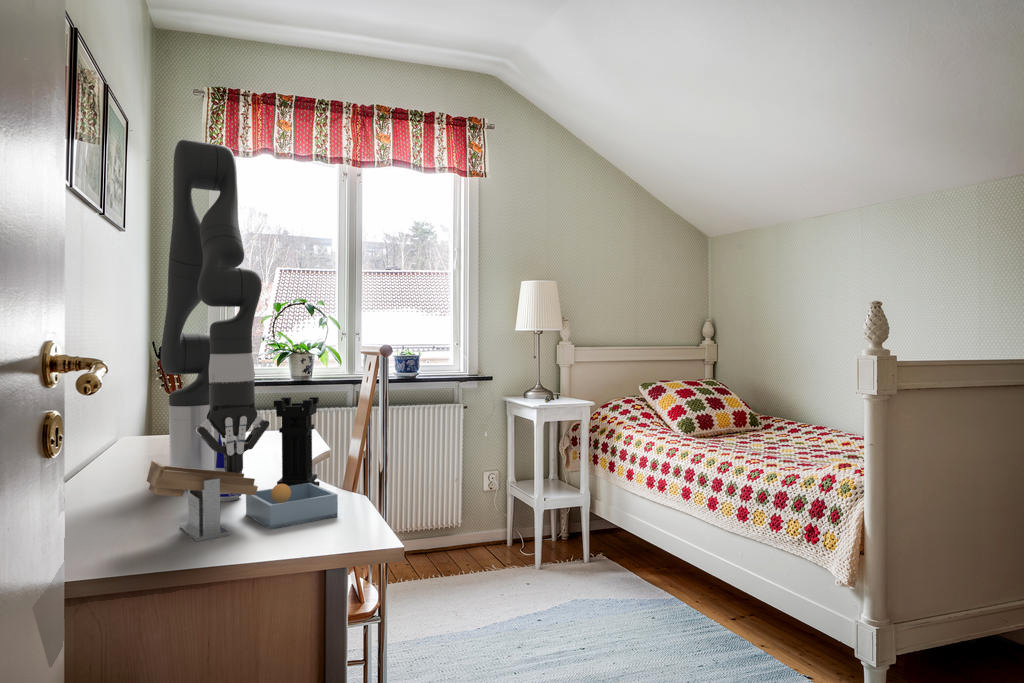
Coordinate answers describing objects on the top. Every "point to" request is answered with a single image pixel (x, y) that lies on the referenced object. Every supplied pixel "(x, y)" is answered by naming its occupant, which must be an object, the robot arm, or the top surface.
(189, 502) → the fulcrum
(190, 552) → the top surface
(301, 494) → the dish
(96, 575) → the top surface
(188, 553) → the top surface
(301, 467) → the chess piece
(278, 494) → the ball
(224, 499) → the beverage can
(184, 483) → the lever
